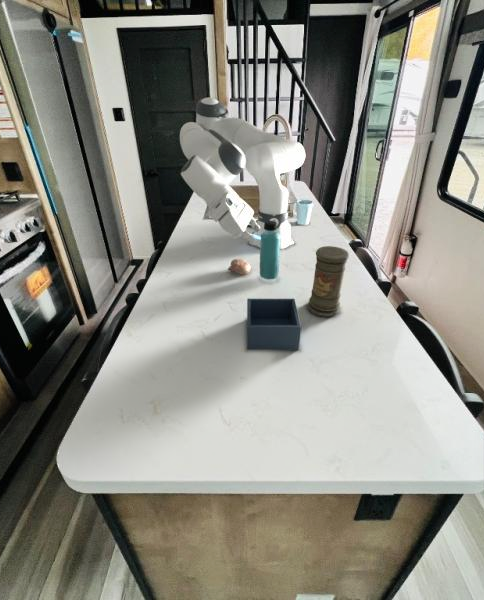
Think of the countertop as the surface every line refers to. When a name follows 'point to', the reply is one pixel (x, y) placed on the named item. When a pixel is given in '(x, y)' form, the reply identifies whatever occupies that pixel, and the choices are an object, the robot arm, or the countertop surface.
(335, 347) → the countertop surface
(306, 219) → the cup
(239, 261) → the beige lumpy piece
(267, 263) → the beverage bottle
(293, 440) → the countertop surface
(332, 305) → the container
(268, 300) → the tote
